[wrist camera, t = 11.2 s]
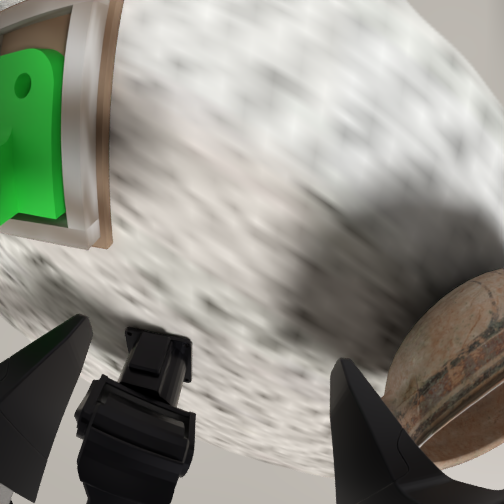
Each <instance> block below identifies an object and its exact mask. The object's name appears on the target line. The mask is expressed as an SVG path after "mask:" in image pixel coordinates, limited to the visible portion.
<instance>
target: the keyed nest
mask: <svg viewBox="0 0 504 504" xmlns="http://www.w3.org/2000/svg"><path fill="white" fill-rule="evenodd" d="M123 3H124V0H25V1H23V2H20V3H18V4H16V5H13V6H11V7H9V8H7V9H5V10H2V11H0V56H2V55H6V54H9V53H13V52H17V51H21V50H25V49H32V48H34V49H54V50H56V51H58V52H60V53H61V54H62V55H63V56H64V57H65V61H64V72H63V85H62V105H61V151H62V172H63V185H64V197H65V206H66V212H65V213H63V214H62V215H61V216H60V217H58V218H57V219H51V218H46V217H40V216H35V215H30V214H24V213H17V214H16V215H14V216H13V217H12V218H10V219H9V220H8V221H6V222H5V223H4V224H2V225H1V226H0V233H3V234H8V235H13V236H18V237H23V238H28V239H33V240H38V241H43V242H48V243H53V244H58V245H63V246H69V247H74V248H79V249H85V250H89V248H90V247H97V248H103V249H108V248H109V247H110V246H111V245H112V243H113V239H112V226H111V211H110V190H109V125H110V105H111V90H112V79H113V69H114V60H115V51H116V44H117V37H118V31H119V24H120V19H121V13H122V8H123Z"/></svg>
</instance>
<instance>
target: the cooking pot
mask: <svg viewBox="0 0 504 504" xmlns="http://www.w3.org/2000/svg"><path fill="white" fill-rule="evenodd" d="M381 399H382V400H383V402H384V403H385V404H386V406H387V407H388V408H389V410H390V411H391V412H392V413H393V415H394V416H395V417H396V419H397V420H398V421H399V423H400V424H401V425H402V428H404V429H405V430H406V432H407V433H408V434H409V436H410V437H411V438H412V439H413V441H414V442H415V443H416V444H417V445H418V447H419V448H420V449H421V450H422V451H423V452H424V453H425V454H426V455H427V456H428V457H429V459H430V460H431V461H432V462H433V463H434V464H435V465H436V466H437V467H438V468H439V469H440V470H443V469H446V468H450V467H453V466H456V465H459V464H462V463H464V462H467V461H469V460H471V459H474V458H476V457H478V456H480V455H482V454H484V453H486V452H488V451H490V450H492V449H494V448H495V447H497V446H499V445H500V444H502V443H504V268H503V269H498V270H494V271H491V272H487V273H484V274H482V275H480V276H477V277H475V278H473V279H471V280H469V281H467V282H465V283H464V284H462V285H460V286H459V287H457V288H455V289H454V290H452V291H451V292H450V293H448V294H447V295H446V296H444V297H443V298H442V299H440V300H439V301H438V302H437V303H436V304H435V305H434V306H433V307H431V308H430V309H429V310H428V311H427V312H426V313H425V314H424V315H423V317H422V318H421V319H420V320H419V321H418V322H417V323H416V324H415V326H414V327H413V328H412V330H411V331H410V332H409V333H408V335H407V336H406V337H405V339H404V341H403V342H402V344H401V346H400V347H399V349H398V351H397V352H396V354H395V357H394V359H393V361H392V364H391V366H390V369H389V372H388V376H387V382H386V387H385V393H384V396H383V397H382V398H381Z"/></svg>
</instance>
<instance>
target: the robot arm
mask: <svg viewBox="0 0 504 504" xmlns="http://www.w3.org/2000/svg"><path fill="white" fill-rule="evenodd" d="M92 336H93V332H92V328H91V324H90V320H89V318H88V316H86V315H82V314H77V315H75V316H73V317H72V318H70V319H68V320H67V321H65V322H64V323H62V324H60V325H59V326H57V327H56V328H54V329H53V330H51V331H49V332H48V333H46V334H45V335H43V336H41V337H40V338H38V339H37V340H35V341H34V342H32V343H31V344H29V345H27V346H26V347H24V348H23V349H21V350H20V351H18V352H17V353H15V354H14V355H12V356H11V357H10V358H7V359H6V360H5V361H3V362H1V363H0V504H13V503H12V501H11V497H12V494H13V492H15V493H17V494H19V495H20V496H22V497H24V498H26V499H28V500H30V501H31V502H33V503H35V500H36V497H37V493H38V490H39V486H40V483H41V479H42V476H43V473H44V470H45V466H46V463H47V459H48V457H49V454H50V451H51V448H52V445H53V442H54V439H55V436H56V433H57V430H58V428H59V425H60V422H61V420H62V417H63V415H64V412H65V409H66V407H67V404H68V402H69V399H70V397H71V394H72V392H73V389H74V387H75V385H76V382H77V380H78V378H79V375H80V373H81V370H82V367H83V364H84V361H85V358H86V355H87V352H88V349H89V346H90V343H91V340H92ZM125 336H126V342H127V346H128V351H129V356H128V358H127V360H126V363H125V365H124V367H123V370H122V372H121V374H120V377H119V379H118V381H117V382H116V381H114V380H112V379H110V378H108V376H106V375H104V374H102V376H101V378H100V380H93V381H92V384H91V386H90V388H89V390H88V392H87V394H86V396H85V397H84V399H83V400H82V402H81V403H80V405H79V407H78V408H77V410H76V412H75V415H74V417H75V419H76V421H77V428H78V430H77V434H76V436H77V437H79V438H80V439H83V443H82V446H81V449H80V452H79V455H78V458H77V465H78V466H77V469H78V474H79V478H80V481H81V482H83V485H84V488H85V491H86V494H87V497H88V500H87V503H86V504H170V503H171V500H172V497H173V493H174V489H175V486H176V484H177V481H178V478H179V477H183V476H184V475H185V474H186V473H187V471H188V469H189V467H190V464H191V461H192V457H193V453H194V443H195V420H196V413H193V412H187V411H184V410H182V409H179V408H177V404H178V400H179V396H180V392H181V388H182V384H183V382H186V383H190V382H191V380H192V342H191V341H190V340H188V339H184V338H179V337H174V336H168V335H163V334H159V333H154V332H149V331H145V330H140V329H136V328H131V327H127V328H126V330H125ZM330 422H331V433H332V445H333V457H334V471H335V487H336V504H504V489H503V490H490V489H486V488H482V487H478V486H474V485H470V484H466V483H463V482H459V481H456V480H453V479H451V478H449V477H448V476H447V475H445V474H444V473H443V472H442V471H441V470H440V469H439V468H438V467H437V466H436V465H435V464H434V463H433V462H432V461H431V460H430V459H429V457H428V456H427V455H426V454H425V453H424V452H423V451H422V450H421V449H420V448H419V447H418V445H417V444H416V443H415V442H414V441H413V439H412V438H411V437H410V436H409V434H408V433H407V432H406V430H405V429H404V428H402V425H401V424H400V423H399V421H398V420H397V419H396V417H395V416H394V415H393V413H392V412H391V411H390V410H389V408H388V407H387V406H386V404H385V403H384V402H383V400H382V399H381V398H380V396H379V395H378V394H377V393H376V391H375V390H374V389H373V387H372V386H371V385H370V383H369V382H368V381H367V379H366V378H365V377H364V376H363V374H362V373H361V372H360V370H359V369H358V368H357V367H356V365H355V364H354V363H353V361H352V360H351V359H349V358H339V359H338V360H337V362H336V364H335V366H334V368H333V370H332V372H331V376H330Z"/></svg>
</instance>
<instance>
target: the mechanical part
mask: <svg viewBox="0 0 504 504" xmlns="http://www.w3.org/2000/svg"><path fill="white" fill-rule="evenodd" d="M64 61H65V57H64V56H63V55H62V54H61V53H60V52H58V51H56V50H54V49H34V48H32V49H25V50H21V51H17V52H13V53H9V54H6V55H2V56H0V226H1V225H2V224H4V223H5V222H6V221H8V220H9V219H10V218H12V217H13V216H14V215H16V214H17V213H24V214H30V215H35V216H40V217H46V218H51V219H57V218H58V217H60V216H61V215H62V214H63V213H65V212H66V206H65V197H64V185H63V172H62V151H61V105H62V85H63V72H64Z"/></svg>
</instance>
